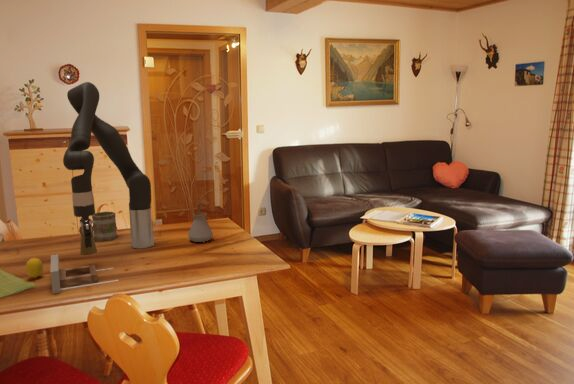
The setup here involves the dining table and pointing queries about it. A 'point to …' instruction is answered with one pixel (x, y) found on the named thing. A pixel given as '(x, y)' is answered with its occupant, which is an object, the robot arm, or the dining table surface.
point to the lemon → (34, 267)
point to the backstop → (56, 276)
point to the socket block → (78, 276)
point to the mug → (104, 226)
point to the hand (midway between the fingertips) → (88, 245)
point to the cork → (83, 248)
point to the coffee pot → (200, 227)
